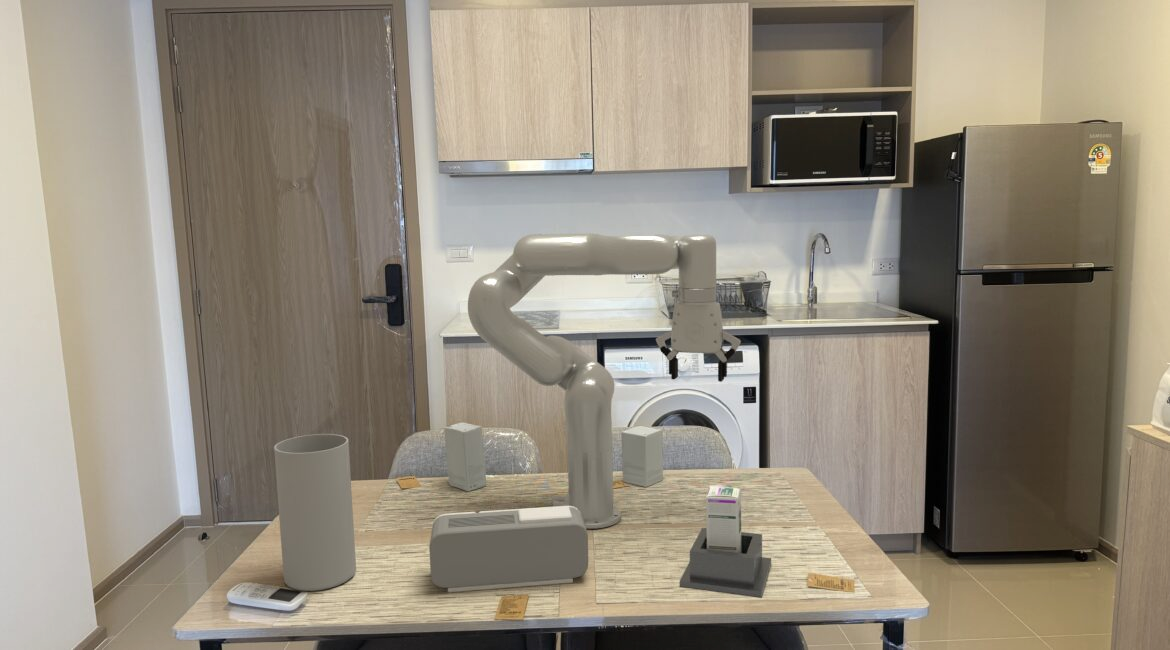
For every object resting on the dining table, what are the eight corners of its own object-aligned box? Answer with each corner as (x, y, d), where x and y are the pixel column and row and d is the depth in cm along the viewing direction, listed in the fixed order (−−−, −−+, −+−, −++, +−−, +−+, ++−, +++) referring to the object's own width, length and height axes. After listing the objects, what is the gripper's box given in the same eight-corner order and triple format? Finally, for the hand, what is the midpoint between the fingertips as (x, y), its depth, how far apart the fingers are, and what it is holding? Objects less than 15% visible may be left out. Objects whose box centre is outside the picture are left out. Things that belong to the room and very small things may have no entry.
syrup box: (739, 577, 141) (740, 496, 139) (705, 574, 143) (705, 494, 141) (741, 563, 147) (742, 486, 145) (709, 560, 148) (708, 484, 146)
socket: (679, 586, 140) (679, 553, 140) (695, 554, 153) (695, 524, 153) (761, 597, 136) (761, 563, 135) (771, 563, 149) (771, 532, 148)
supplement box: (664, 480, 197) (663, 429, 195) (645, 488, 192) (645, 436, 190) (639, 474, 202) (639, 424, 200) (621, 481, 196) (620, 431, 195)
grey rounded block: (582, 561, 152) (580, 500, 150) (589, 583, 143) (587, 518, 141) (434, 572, 148) (431, 510, 147) (431, 595, 139) (428, 529, 138)
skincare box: (487, 486, 195) (484, 426, 193) (466, 492, 191) (464, 431, 189) (466, 479, 201) (463, 420, 199) (446, 484, 197) (443, 425, 195)
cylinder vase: (286, 598, 139) (276, 457, 136) (282, 570, 150) (272, 439, 147) (361, 584, 144) (352, 447, 141) (351, 557, 155) (343, 430, 152)
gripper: (651, 297, 163) (652, 380, 166) (737, 298, 158) (737, 385, 160) (660, 294, 170) (661, 374, 173) (743, 295, 165) (742, 377, 167)
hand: (697, 379), depth 166 cm, fingers open, 9 cm apart
